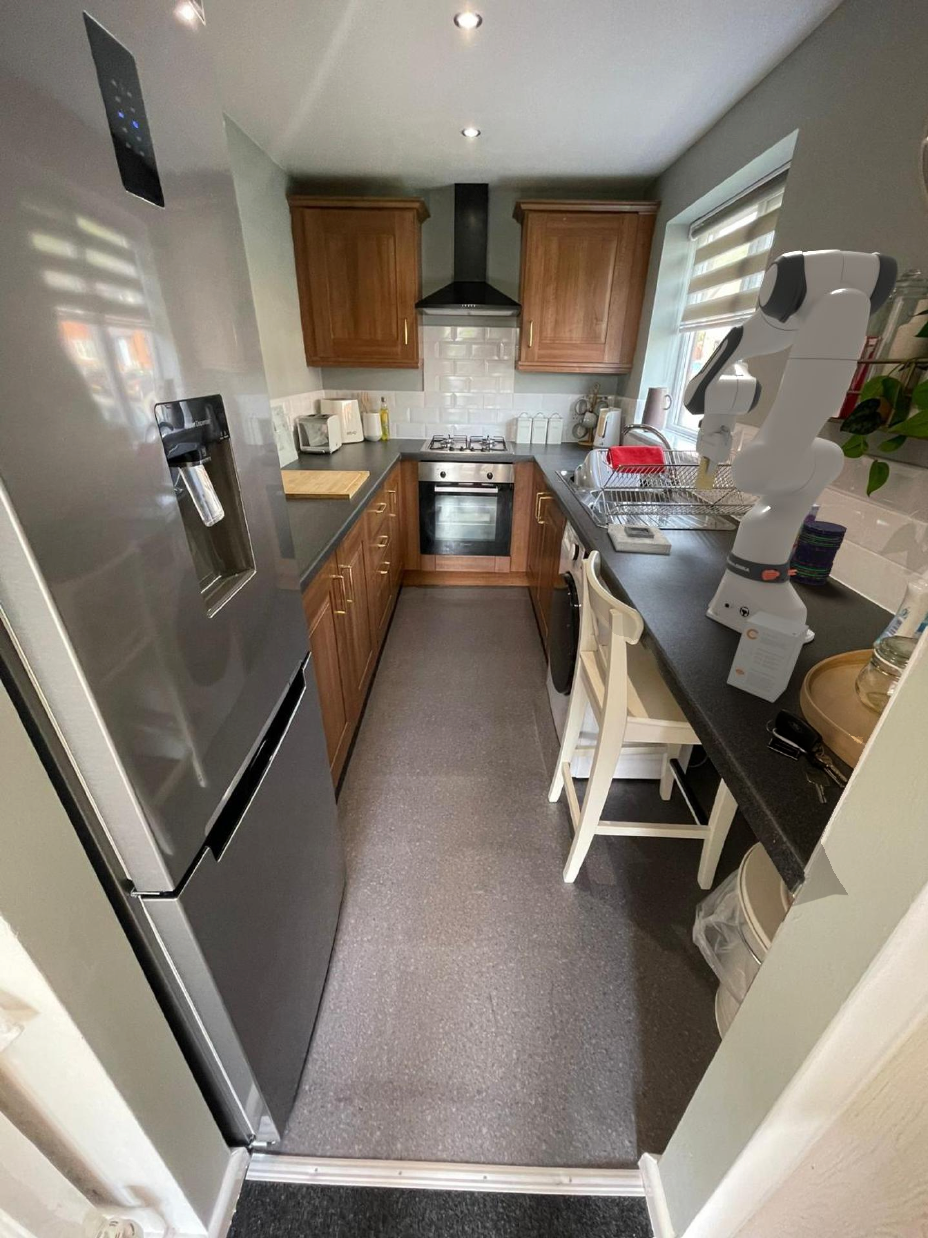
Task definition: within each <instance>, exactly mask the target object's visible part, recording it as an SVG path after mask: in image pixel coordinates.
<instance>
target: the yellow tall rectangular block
mask: <svg viewBox="0 0 928 1238" xmlns="http://www.w3.org/2000/svg"><path fill="white" fill-rule="evenodd" d="M709 462H710V459H709V458H707V457H702V456H701V457H700V461H699V465H698V470H697V473H696V474H697V475H696V477H695V482H694V486H693V487H694V488H695V489H696V490H699V491H700V490H702V491H712V490H713V488H714V487H713V486H714V482H715V478H716V475H717V470H718V467H719V463H720V462H718V465H717V467H716V468H715V471H714V474H713V475H707V474H706V471H707V468H708V467H709V464H710V463H709Z"/></svg>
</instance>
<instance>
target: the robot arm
mask: <svg viewBox="0 0 928 1238" xmlns="http://www.w3.org/2000/svg"><path fill="white" fill-rule="evenodd" d="M898 277H899V266H898V261H897V259H896V258H895V257H894V256H891V255H888V254H886V253H881V252H876V251H875V252H872V253H867V252H860V251H848V250H841V249H823V250H813V251H811V250H810V251H806V252H803V251H801V250H797V251H791V252H787V253H784V254H781V255H779V256H777V258H775V260H774V261H772V263H771V264H770V266H769V267H768V269H767V271H766V273H765V275H764V277H763V279H762V281H761V283H760V284H761V285H760V288H759V295H758V296H759V297H758V305H759V307H758V308H757V310H756V311H755V312H754V313H752V314H751V316H749V317H748V318H746V320H744V321H743V322H741V323H740V324H737V325H736V326H733V327H732V328H731V329H730V330H729V331H728V333H726V335H725V336H724V338H723V339H722V340H721V342H720V343H719V344H718V345H717V347H716V348H715V349H714V351H713V352H712V354H711V356H710V357H709V358H708V360H707V361H706V362H705V363H704V365H703V366H702V368H701V369H700V370H699V371H698V373H696V375H694V377H692V379H691V380H689V382H688V384H687V386H686V389H685V391H684V395H683V406H684V408H685V409H686V410H687V411H688V412H689V413H690V414H691V415H693V416H697V415H699V416H700V415H703V417H702V418H701V419H699V421H698V425H697V427H698V432H697V436H696V437H697V438H696V444H695V452H696V453H697V454H699V455H701V457H707V458H709V459H710V462H709V463H710V464H709V467H708V468H707V471H706V474H707V475H713V474H714V471H715V468H716V467H717V465H718V466H719V463H727V462H728V461H729V460H730V459H729V458H730V456H731V450H732V448H733V447H732V446H733V440H734V439H733V434H731V433H734V431H735V428H736V423H737V420H738V416H740V415H747V414H748V413H750V412H751V411H752V410H754V409H755V408H756V407H757V406H758V404H759V401H760V397H761V394H762V389H763V387H762V384H761V382H760V380H759V379H758V378H757V377H753V376H752V375H751V374H750V373H749V365H748V363H746V362H744V361H742V360H745V359H749V358H750V359H751V358H753V357H759V356H764V355H770V354H774V353H778V352H781V351H784V350H785V349H787V348H789V347H791V349H790V352H789V355H788V359H787V362H786V365H785V367H784V368H785V369H784V372H783V375H782V378H781V382H780V385H779V387H778V391H777V394H776V397H775V399H774V402H773V405H772V406H771V409H770V411H769V413H767V416H766V418H765V420H764V421H763V422H762V425H761V426H760V427H759V429H758V431H757V433H755V435H754V437H752V439H751V440H750V441H749V442H748V444H747V445H745V446H744V447H743V448H742V449H741V450H739V451H738V452H737V454H736V455H735V456H734V458H733V460H732V463H731V465H730V479H731V482H732V484H733V485H734V487H735V488H736V489H737V490H739V492H742V493H744V494H748V495H752V496H758V497H759V499H758V500H757V501H756V502H755V503H756V504H755V505H754V506H753V507H752V506H751V508H750V509H749V510H748V511H747V512H745V514H744V515H743V516H742V518H741V520H740V523H739V526H738V529H737V533H736V536H735V540H734V543H733V546H732V549H731V550H729V554H728V556H727V558H726V563H725V567H726V569H725V573H724V574H723V576H722V579H721V581H720V583H719V585H718V587H717V589H716V591H715V594H714V596H713V597H712V599H711V600H710V601H709V603H708V606H707V607H708V609H707V612H706V613H705V615H706V616H707V617H708V618H710V619H712V620H714V621H716V622H718V623H720V624H721V625H724V626H726V627H728V628H730V629H732V630H733V631H736V632H738V633H740V634H742V632H743V629H744V626H745V622H746V620H747V619H749V618H750V617H752V616H753V615H755V614H756V613H757V612H759V611H763V612H766V613H769V614H772V615H775V616H778V617H782V618H785V619H788V620H791V621H794V622H797V623H801V624H804V625H806V622H807V617H808V616H807V615H808V610H807V606H806V605H805V603H804V602H803V600H802V599H801V597H800V596H799V594H798V592H797V591H796V590H795V588H794V587H793V585H792V583H791V582H790V575H796V574H795V573H792V572H796V571H797V570H790V564H789V560H788V559H789V556H790V553H791V550H792V548H793V545H794V542H795V539H796V537H797V534H798V531H799V529H800V527H801V525H802V523H803V521H804V519H805V518H806V516H807V514H808V513H809V511H810V510H811V508H812V507H813V505H814V504H816V502H817V500H818V499H819V498H820V496H821V495H822V494H823V492H824V491H825V489H826V488H827V487H828V486H829V485H830V484H832V482H834V481H836V479H837V478H838V477H839V476H840V474H841V473H842V472H843V468H844V465H845V454H844V451H843V449H842V448H841V446H839V445H838V444H837V443H836V442H833V441H831V440H828V439H826V438H821V437H817V436H818V435H819V434H820V431H822V428H823V427H824V426H825V424H826V423H827V422H828V421H829V420H830V418H831V417H833V415H835V414H836V413H837V412H838V411H839V410H840V408H841V407H842V406H843V404H844V401H845V398H846V395H847V393H848V391H849V386H850V384H851V381H852V378H853V375H854V372H855V370H856V367H857V363H858V360H859V359H860V355H861V353H862V350H863V345H864V341H865V338H866V335H867V329H868V324H869V320H870V317H871V316H873V315H874V314H876V313H877V312H878V311H879V310H880V309H881V308H882V307H883V306H885V304H886V303H887V302H888V300H889V298H890V297H891V295H892V294H893V291H894V290H895V287H896V285H897V280H898ZM718 462H719V463H718ZM717 468H718V467H717ZM814 637H815V632H813V631H812V630H811V629H810V628H808V631H807V634H806V637H805V640H804V642H803V644H806V643H809V642H811V641H813V640H814Z"/></svg>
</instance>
